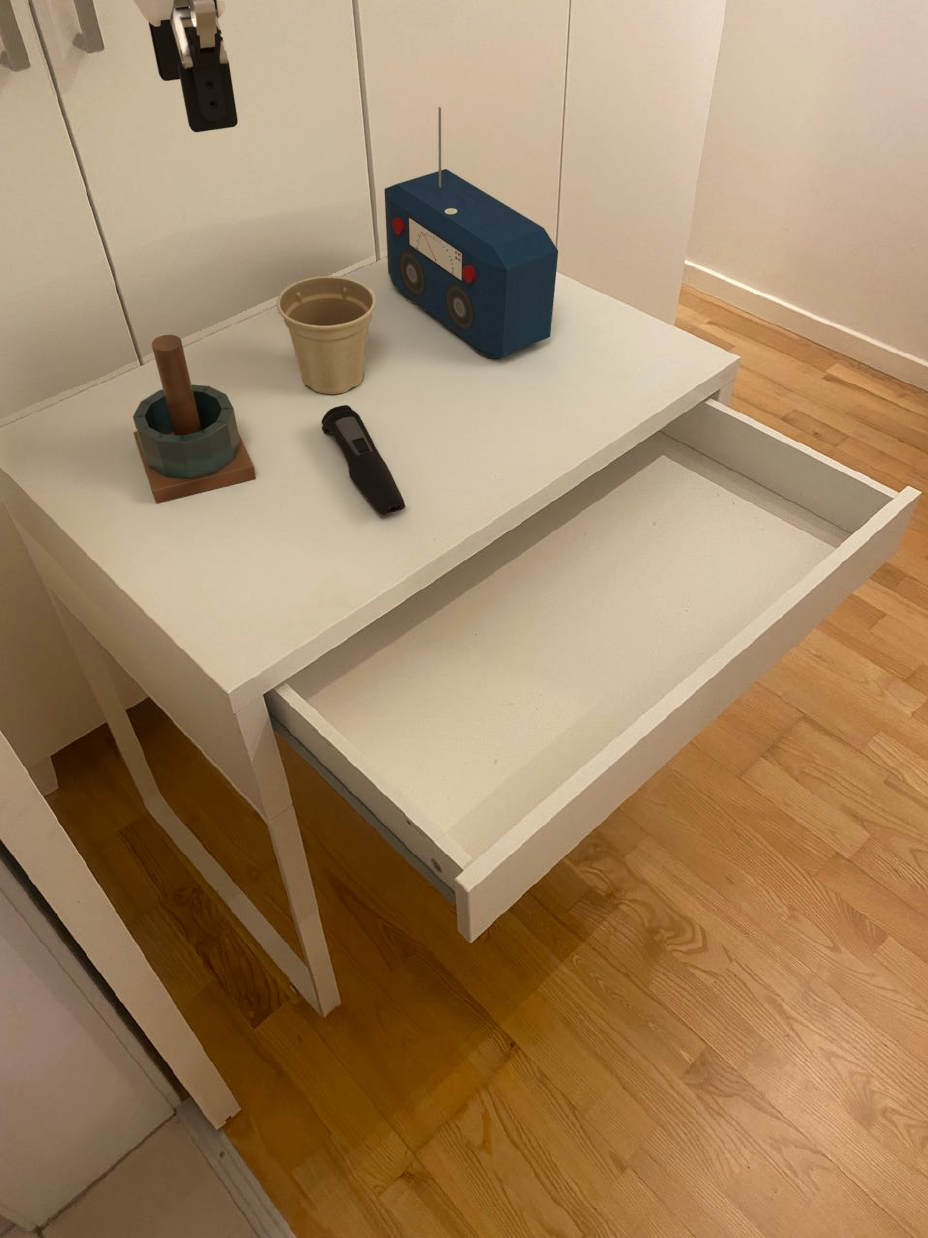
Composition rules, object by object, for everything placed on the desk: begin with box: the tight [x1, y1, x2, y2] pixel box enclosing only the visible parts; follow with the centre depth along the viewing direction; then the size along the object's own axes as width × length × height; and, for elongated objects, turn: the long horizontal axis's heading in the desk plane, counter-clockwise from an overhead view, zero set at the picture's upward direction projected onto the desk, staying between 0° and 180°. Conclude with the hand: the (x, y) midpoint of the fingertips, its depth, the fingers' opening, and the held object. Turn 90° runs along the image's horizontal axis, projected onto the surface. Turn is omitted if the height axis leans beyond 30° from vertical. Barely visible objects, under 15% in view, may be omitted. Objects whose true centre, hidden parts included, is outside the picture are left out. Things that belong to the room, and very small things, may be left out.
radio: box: [383, 106, 559, 359], centre depth 98 cm, size 21×9×20 cm, turn 37°
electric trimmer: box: [321, 404, 406, 516], centre depth 87 cm, size 4×16×3 cm, turn 24°
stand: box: [132, 334, 257, 504], centre depth 84 cm, size 9×9×12 cm
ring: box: [132, 384, 240, 479], centre depth 86 cm, size 8×8×4 cm
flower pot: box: [276, 275, 377, 395], centre depth 94 cm, size 9×9×9 cm
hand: (197, 101), depth 67 cm, fingers open, 9 cm apart
